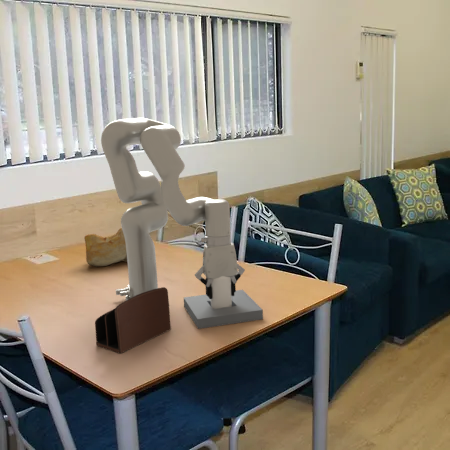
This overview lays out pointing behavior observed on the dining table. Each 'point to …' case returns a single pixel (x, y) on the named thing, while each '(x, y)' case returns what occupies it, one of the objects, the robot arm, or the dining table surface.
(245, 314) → the socket block
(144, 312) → the letter holder
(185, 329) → the dining table surface
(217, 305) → the can
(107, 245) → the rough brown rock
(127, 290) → the robot arm
